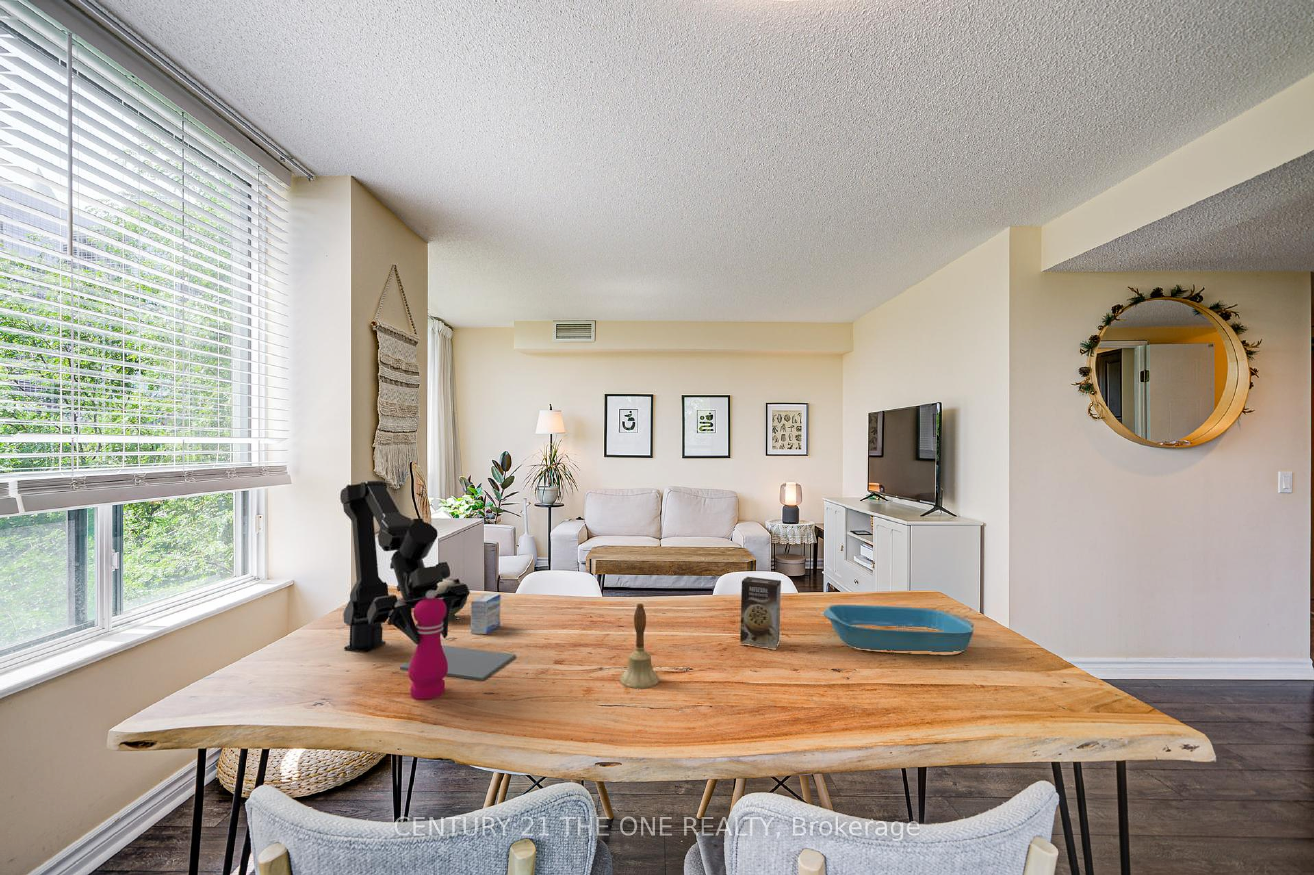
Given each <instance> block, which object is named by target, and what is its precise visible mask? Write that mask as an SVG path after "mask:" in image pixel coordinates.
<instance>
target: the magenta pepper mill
mask: <svg viewBox="0 0 1314 875" xmlns="http://www.w3.org/2000/svg"><path fill="white" fill-rule="evenodd" d="M426 597H427V598H425V599H422V600H421V601H419V602H418V603H417V604H416V606H415V608H413V619H414V620H415V621H416V622H417V623H415V626H416V628H417V631H418V634H419V638H420V643H419V644H418V645H417V646H416V647H415V648H416V649H415V652H414V654H413V656H412V658H411V660H410V661H411V662H410V661H409V662H410V666H409V671H408V672H407V674H408V679H410V681H411V682H412V684H411V685H410V693H409V694H410V697H411V698H413V699H415V700H430V699H434V698H437V697H439V696H441V695H443V694H444V693H445V691H446V681H445V680H444V678H445V677H446V676H445V675H446V674H447V672H448V662H447V658H446V656H445V654H444V652H443V649H442V645H443V644H442V641H441V636H442V634H441V631H442V630H443V622H442V619H443V618H444V617H445V615H446V605H445V603H444V601H442V600H441V599H439V598H435V592H434V591H433V590H429V591H427V593H426Z"/></svg>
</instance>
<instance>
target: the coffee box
mask: <svg viewBox="0 0 1314 875" xmlns="http://www.w3.org/2000/svg"><path fill="white" fill-rule="evenodd" d="M781 592H782V581H781V580H780V579H770V578H763V577H761V578H760V577H754V576H746V577H745V578H744V579H742V580H741V593H740V594H741V599H740V602H741V604H740V633H739V634H740V636H739V637H740V638H739V644H740V643H741V644H750V645H754V646H759V647H768V648H776V647H777V644H778V642H780V630H781V629H780V627H781V626H780V624H781V618H780V617H781V595H782V594H781ZM777 648H778V647H777ZM777 648H776V649H777Z"/></svg>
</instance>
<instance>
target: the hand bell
mask: <svg viewBox="0 0 1314 875" xmlns="http://www.w3.org/2000/svg"><path fill="white" fill-rule="evenodd" d="M646 624H647V614H646V610H645V608H644V604H643V603H637V604H636V608H635V611H634V616H633V625H634V630H635V634H636V635H635V636H636V640H635V641H636V642H635V646H636V647H635V650H634V651H632V652H630V654H629V657H628V663H627V667H626V669H625V670H624V672H623V673H622V674H621V675H620V677H619V682H620V684H621V685H622V686H625V687H628V688H631V689H637V688H641V689H642V688H643V689H648V688H652V687H654V686H656V685H658V684H659V683H660V678H659V675H658V674H657V673H656V672H655V670H654V669H653V664H652V659H651V658H652V657H651V654H650V653H649V652H647V651H646V650H645V644H644V643H645V638H644V637H645V636H644V635H645V634H644V633H645V630H646Z"/></svg>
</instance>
